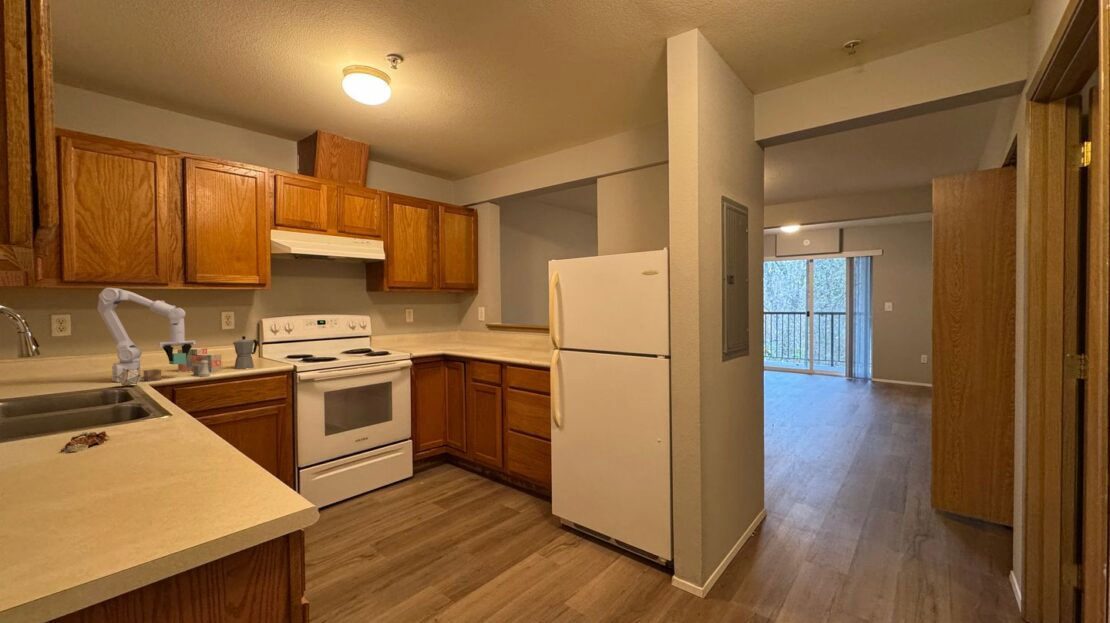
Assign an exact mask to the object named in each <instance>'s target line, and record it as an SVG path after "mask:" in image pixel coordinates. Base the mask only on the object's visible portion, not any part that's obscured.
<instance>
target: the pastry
mask: <svg viewBox="0 0 1110 623" xmlns="http://www.w3.org/2000/svg"><path fill="white" fill-rule="evenodd" d="M106 438H108V439H110V436H109V435H108V434H107V431H104V430H103V431H101V432H99V433H98V432H96V431H94V430H91V431H89V432H82V433H79V434H78V435H76V436H75V435H73V436H72V437H71V438H70V441H68V442H66V444H65V446H64V447H62V448H60V453H63V454H69V453H72V452H77V453H79V452H84V451H87V450H88V449H89V446H91V445H94V444H96V443H97V444H98V445H99V446H102V445H103V444H105V443H104V441H105V442H106ZM102 443H103V444H102ZM101 444H102V445H101Z"/></svg>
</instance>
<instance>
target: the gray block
mask: <svg viewBox="0 0 1110 623" xmlns="http://www.w3.org/2000/svg"><path fill="white" fill-rule="evenodd" d="M201 368H202V366H201V365H194V366H193V372H192V373H193V376H195V375H196V377H200V374H199V373H200V372H201ZM208 371H209V372H210V366H209V365H208ZM210 373H211V372H210Z"/></svg>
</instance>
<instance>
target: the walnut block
mask: <svg viewBox="0 0 1110 623" xmlns="http://www.w3.org/2000/svg"><path fill="white" fill-rule="evenodd" d="M142 372H143V373H142V374H143V377H144V379H143V382H148V383H150V382H157V381H162V369H158V368H156V369H155V368H154V369H145V370H142Z"/></svg>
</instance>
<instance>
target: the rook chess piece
mask: <svg viewBox="0 0 1110 623" xmlns="http://www.w3.org/2000/svg"><path fill="white" fill-rule="evenodd" d="M200 363H201V364H202V365H201V366H202V368H201V372H200V373H199V374H200V376H199V378H207V377H211V372H209V371H208V365H207V364H208V360H206V361H205V360H204V361H203V360H202V361H201V362H200ZM209 374H210V375H209Z"/></svg>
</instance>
